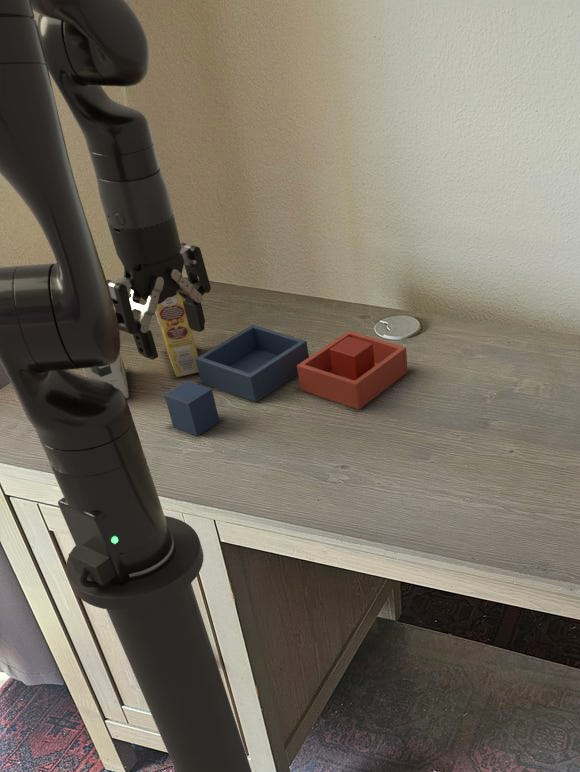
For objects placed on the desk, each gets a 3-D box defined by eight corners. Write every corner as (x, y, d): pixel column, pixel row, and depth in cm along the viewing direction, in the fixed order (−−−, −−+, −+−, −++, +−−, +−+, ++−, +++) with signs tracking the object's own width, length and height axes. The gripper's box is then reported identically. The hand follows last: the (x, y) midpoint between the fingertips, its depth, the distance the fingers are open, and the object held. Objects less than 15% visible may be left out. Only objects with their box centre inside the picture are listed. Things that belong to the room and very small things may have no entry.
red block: (358, 388, 126) (354, 356, 123) (333, 380, 128) (329, 348, 124) (375, 375, 129) (372, 343, 126) (351, 367, 131) (348, 336, 127)
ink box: (93, 375, 130) (66, 299, 121) (127, 370, 131) (103, 294, 122) (93, 404, 124) (66, 326, 116) (129, 398, 125) (104, 320, 117)
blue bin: (255, 402, 125) (250, 377, 122) (201, 383, 128) (195, 358, 125) (310, 365, 132) (306, 340, 129) (257, 348, 136) (252, 324, 133)
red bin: (358, 409, 123) (356, 384, 120) (300, 390, 127) (296, 365, 124) (407, 372, 131) (406, 347, 128) (351, 354, 135) (348, 330, 132)
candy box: (203, 373, 130) (178, 271, 119) (175, 378, 129) (147, 276, 118) (192, 347, 136) (167, 248, 125) (165, 352, 135) (137, 253, 124)
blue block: (197, 436, 118) (188, 403, 115) (173, 427, 120) (163, 394, 116) (219, 421, 121) (211, 389, 117) (196, 412, 123) (187, 380, 119)
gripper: (160, 188, 106) (191, 314, 118) (68, 226, 97) (112, 359, 109) (205, 199, 103) (233, 328, 115) (116, 240, 95) (155, 374, 106)
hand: (174, 343), depth 112 cm, fingers open, 8 cm apart
